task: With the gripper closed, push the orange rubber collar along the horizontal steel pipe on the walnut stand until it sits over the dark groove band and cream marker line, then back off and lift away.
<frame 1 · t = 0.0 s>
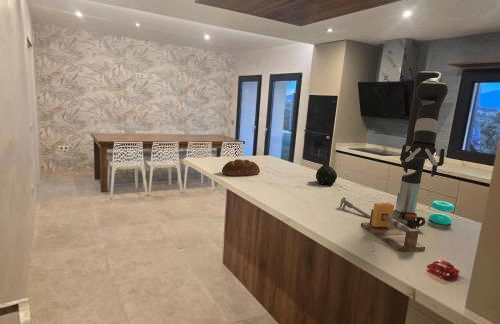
hand: (418, 174, 116), 31 cm above the countertop, tool tilted 20°, fingers open, 8 cm apart
collar: (382, 214, 142), point 7 cm above the countertop, slide at 0.0 cm
pipe stand: (390, 237, 137), on the countertop
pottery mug: (410, 227, 151), on the countertop
bread: (240, 174, 235), on the countertop
squash: (325, 183, 224), on the countertop
donuts: (439, 222, 161), on the countertop
caliper: (355, 213, 166), on the countertop
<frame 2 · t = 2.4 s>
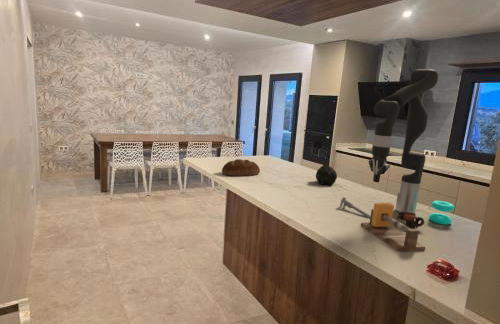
hand: (375, 181, 147), 21 cm above the countertop, tool pointing down, fingers closed
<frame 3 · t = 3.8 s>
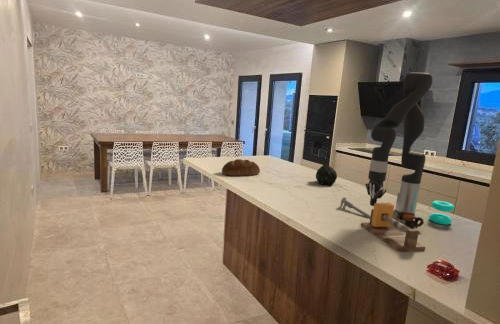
hand: (372, 205, 149), 9 cm above the countertop, tool pointing down, fingers closed
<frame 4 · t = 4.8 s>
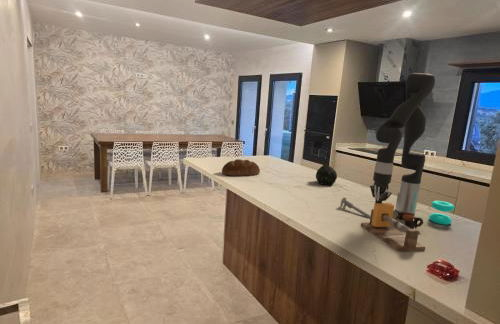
hand: (377, 208, 145), 9 cm above the countertop, tool pointing down, fingers closed
collar: (382, 214, 142), point 7 cm above the countertop, slide at 0.1 cm, touching gripper
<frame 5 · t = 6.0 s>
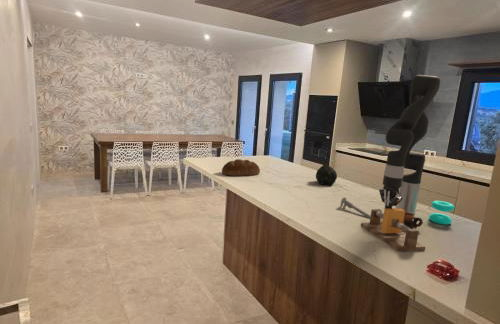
hand: (387, 213, 139), 9 cm above the countertop, tool pointing down, fingers closed
collar: (392, 220, 136), point 7 cm above the countertop, slide at 7.0 cm, touching gripper
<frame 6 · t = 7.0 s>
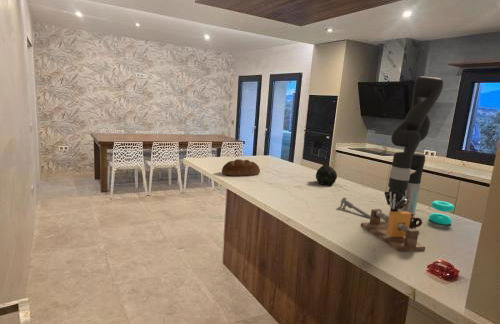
hand: (392, 216, 135), 9 cm above the countertop, tool pointing down, fingers closed
collar: (398, 224, 132), point 7 cm above the countertop, slide at 10.7 cm, touching gripper
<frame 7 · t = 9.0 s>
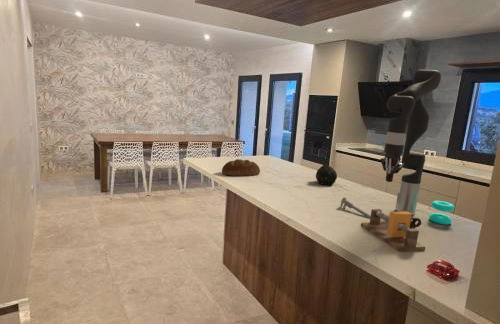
hand: (388, 181, 140), 23 cm above the countertop, tool pointing down, fingers closed
collar: (399, 224, 132), point 8 cm above the countertop, slide at 10.9 cm
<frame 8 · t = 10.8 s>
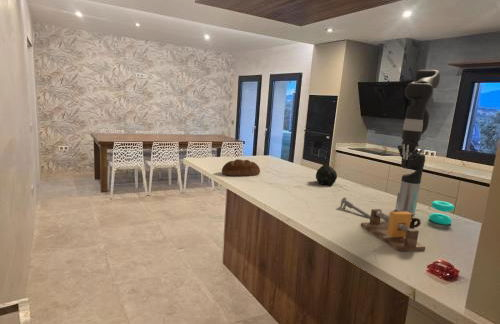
hand: (405, 167, 143), 29 cm above the countertop, tool pointing down, fingers closed
at the end: collar slide at 10.9 cm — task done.
